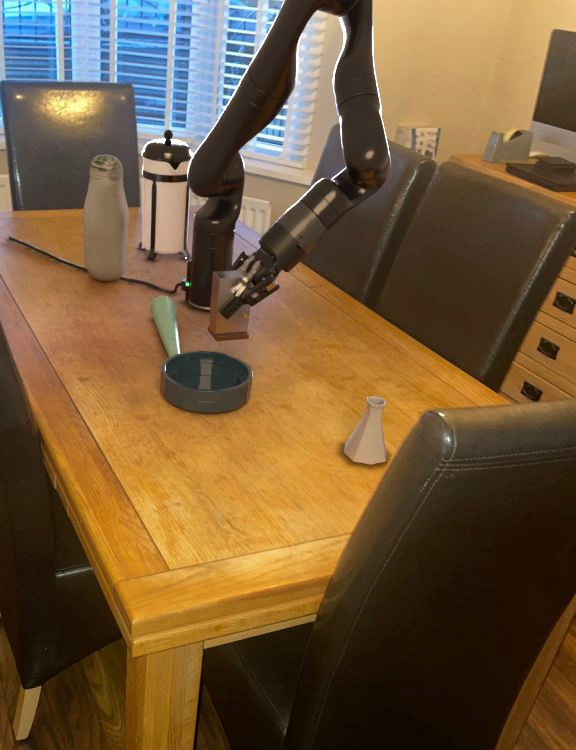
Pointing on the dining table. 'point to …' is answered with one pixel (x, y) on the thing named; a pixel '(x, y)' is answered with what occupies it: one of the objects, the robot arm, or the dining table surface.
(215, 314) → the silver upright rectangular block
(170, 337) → the mint green cone
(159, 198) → the coffee press
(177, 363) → the bowl
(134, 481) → the dining table surface
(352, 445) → the flask
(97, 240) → the glass bottle
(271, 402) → the dining table surface
